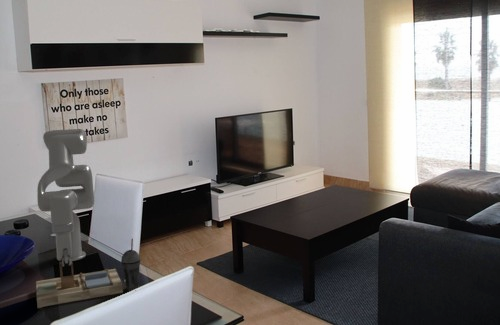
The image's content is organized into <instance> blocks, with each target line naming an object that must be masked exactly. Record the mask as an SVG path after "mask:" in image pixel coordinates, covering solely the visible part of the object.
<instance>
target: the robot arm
mask: <svg viewBox="0 0 500 325" xmlns="http://www.w3.org/2000/svg"><path fill="white" fill-rule="evenodd" d="M42 138H43V143H44V145H45V147H46V148H47V150H48V166H49V168H48V169H47V170H46V171H45V172H44V173H43V175H42V176H41V177H40V179H39V181H38V183H37V189H36V190H37V191H36V192H37V196H36V197H37V206H38V209H39V210H40V211H41V212H44V213H45V212H50V219H51V220H50V221H51V232H52V234H54V235H55V246H56V260H57V261H59V262H62V265H63V266H62V273H63V277H65V276H71V275H72V269H71V264H70V261H71V260H72V262H74V261H78V260H82V259H83V258H85V257H86V255H87V254H86V252H85V251H83V250H82V237H81V235H82V234H81V223H80V218H79V216H78V215H77V214H76V213H75V212H74V211H77V210H79V211H80V210H86V209H87V210H88V209H89V210H90V209H92V208H93V207H94V204H95V194H94V192H95V191H94V181H93V173H92V170H91V167H90V166H89V165H87V164H74V155H83V154H85V153H86V151H87V146H88V144H87V143H88V141H87V140H88V138H87V134H86V132H85V130H84V129H81V128H75V129H53V130H52V129H51V130H48V131H45V132H44V133H43V137H42ZM53 182H55V185H56V186H57V187H59V188H69V189H61V190H55V191H54V190H53V191H46V189H47V188H48V187H49V185H50V184H52V183H53ZM73 187H81V188H73Z"/></svg>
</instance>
